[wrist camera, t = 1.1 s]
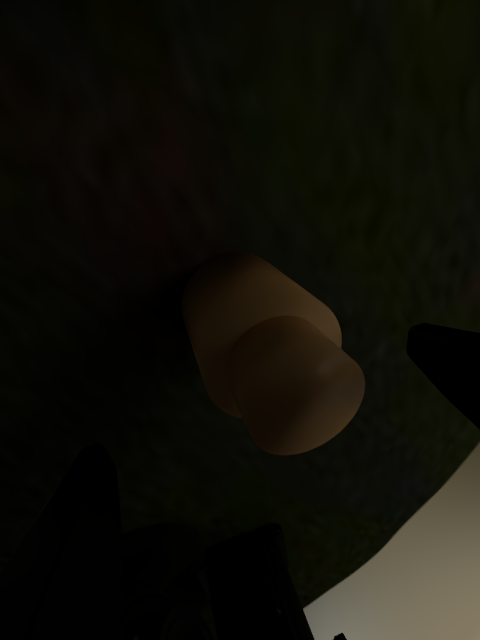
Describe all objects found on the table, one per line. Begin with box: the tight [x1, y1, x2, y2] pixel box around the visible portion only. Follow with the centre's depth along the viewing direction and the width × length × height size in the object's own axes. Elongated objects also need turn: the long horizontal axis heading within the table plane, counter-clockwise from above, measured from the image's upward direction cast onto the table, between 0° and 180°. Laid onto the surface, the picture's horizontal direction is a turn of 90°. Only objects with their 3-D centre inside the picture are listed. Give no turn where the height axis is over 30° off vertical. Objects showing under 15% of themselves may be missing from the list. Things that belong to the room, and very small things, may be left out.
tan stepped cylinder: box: [181, 252, 365, 455], centre depth 10 cm, size 4×4×6 cm
